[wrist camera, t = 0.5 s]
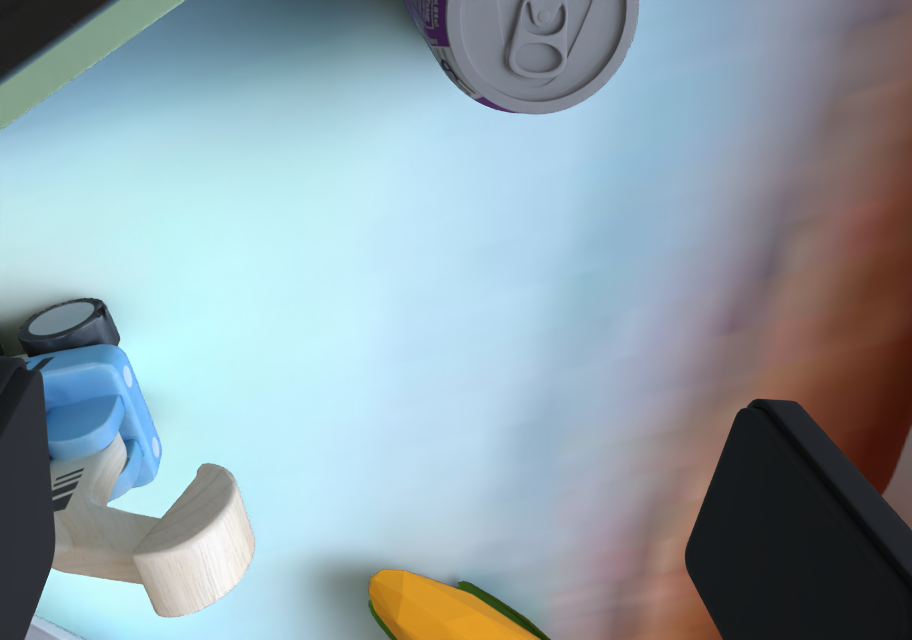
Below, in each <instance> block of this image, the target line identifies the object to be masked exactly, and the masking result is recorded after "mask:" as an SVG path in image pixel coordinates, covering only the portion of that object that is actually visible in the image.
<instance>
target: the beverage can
mask: <svg viewBox="0 0 912 640" xmlns="http://www.w3.org/2000/svg"><path fill="white" fill-rule="evenodd" d="M404 3H405V6H406V8H407V10H408V13H409V15H410V16H411V18H412V20H413V22H414V23H415V25H416V27H417V28H418V30H419V32H420V33H421V35H422V37H423V38H424V40H425V41H426V43H427V45H428V46H429V48H430V50H431V51H432V53H433V55H434V56H435V58H436V60H437V61H438V63H439V64H440V66H441V68H442V69H443V71H444V72H445V73H446V75H447V76H448V77H449V79H450V80H451V81H452V82H453V83H454V84H455V85H456V86H457V87H458V88H459V89H460V90H462V91H463V92H464V93H465V94H466V95H468V96H469V97H471V98H472V99H474V100H475V101H477V102H479V103H481V104H483V105H485V106H488V107H490V108H493V109H496V110H500V111H505V112H510V113H525V114H547V113H553V112H558V111H561V110H565V109H567V108H570V107H573V106H575V105H577V104H579V103H581V102H582V101H584V100H586V99H587V98H589V97H591V96H592V95H593V94H595V93H596V92H597V91H598V90H599V89H601V88H602V87H603V86H604V85H605V84H606V83H607V82H608V81H609V80H610V79H611V77H612V76H613V75H614V74H615V72H616V71H617V70H618V68H619V67H620V65H621V64H622V62H623V60H624V58H625V57H626V55H627V53H628V51H629V48H630V46H631V43H632V41H633V38H634V34H635V30H636V26H637V21H638V12H639V0H404Z"/></svg>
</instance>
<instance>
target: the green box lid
mask: <svg viewBox="0 0 912 640" xmlns="http://www.w3.org/2000/svg"><path fill="white" fill-rule="evenodd" d="M184 1H185V0H0V131H1V130H2V129H4V128H5V127H6V126H8V125H9V124H11V123H12V122H14V121H15V120H16V119H18V118H19V117H21V116H22V115H24V114H25V113H26V112H28V111H29V110H31V109H32V108H33V107H35V106H36V105H38V104H39V103H41V102H42V101H43V100H45V99H46V98H48V97H49V96H50V95H52V94H53V93H55V92H56V91H58V90H59V89H60V88H62V87H63V86H65V85H66V84H67V83H69V82H70V81H72V80H73V79H75V78H76V77H77V76H79V75H80V74H82V73H83V72H84V71H86V70H87V69H89V68H90V67H92V66H93V65H94V64H96V63H97V62H99V61H100V60H101V59H103V58H104V57H106V56H107V55H109V54H110V53H111V52H113V51H114V50H116V49H117V48H118V47H120V46H121V45H123V44H124V43H126V42H127V41H128V40H130V39H131V38H133V37H134V36H135V35H137V34H138V33H140V32H141V31H143V30H144V29H145V28H147V27H148V26H150V25H151V24H152V23H154V22H155V21H157V20H158V19H160V18H161V17H162V16H164V15H165V14H167V13H168V12H169V11H171V10H172V9H174V8H175V7H177V6H178V5H179V4H181V3H182V2H184Z"/></svg>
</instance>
